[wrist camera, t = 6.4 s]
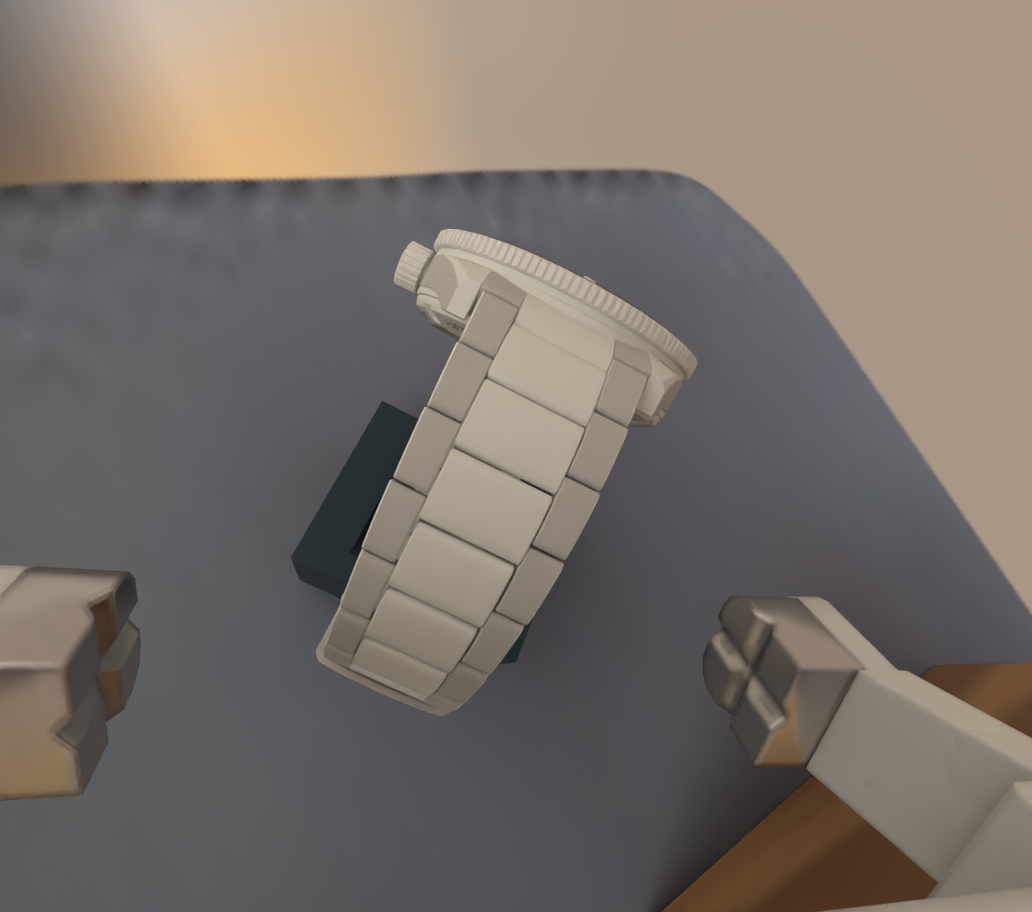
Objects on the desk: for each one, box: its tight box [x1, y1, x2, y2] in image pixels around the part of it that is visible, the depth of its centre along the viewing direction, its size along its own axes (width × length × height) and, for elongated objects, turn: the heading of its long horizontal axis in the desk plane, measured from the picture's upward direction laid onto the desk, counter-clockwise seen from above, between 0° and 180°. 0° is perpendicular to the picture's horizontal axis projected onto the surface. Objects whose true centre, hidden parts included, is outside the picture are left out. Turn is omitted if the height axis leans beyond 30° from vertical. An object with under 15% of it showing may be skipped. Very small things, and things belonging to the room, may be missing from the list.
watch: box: [291, 229, 697, 717], centre depth 12 cm, size 6×8×11 cm
